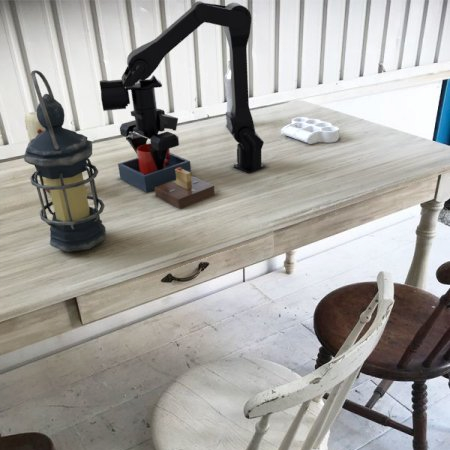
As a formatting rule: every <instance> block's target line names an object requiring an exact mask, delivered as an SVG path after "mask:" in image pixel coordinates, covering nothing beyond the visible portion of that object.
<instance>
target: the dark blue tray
mask: <svg viewBox="0 0 450 450" xmlns="http://www.w3.org/2000/svg"><path fill="white" fill-rule="evenodd" d="M165 159H167V157H166V156H165ZM170 159H171V161H170V162H168V163H165V166H166V168H164V169H161V170H158V171H156V172H153V173H150V174H147V175H144V174H142V173H140V169H139V162H138V157H135V158H132V159H128V160H125V161H122V162H118V163H117V167H118V173H119V179H120V180H122V181H123V182H125V183H127V184H129V185H131V186H133V187H134V188H137V189H139V190H141V191H143V192H144V193H149V192H152V191H155V187H157V186H160V185H163V184H165V183H168V182H171V181H174V180H176V172H175V169H176V168H179V167H180V168H182V169H184V170H186V171H188V172H190V173H191V174H192V166H191V161H190V160H189V159H186V158H184V157H181V156H179V155H177V154H175V153H172V152H170Z"/></svg>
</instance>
